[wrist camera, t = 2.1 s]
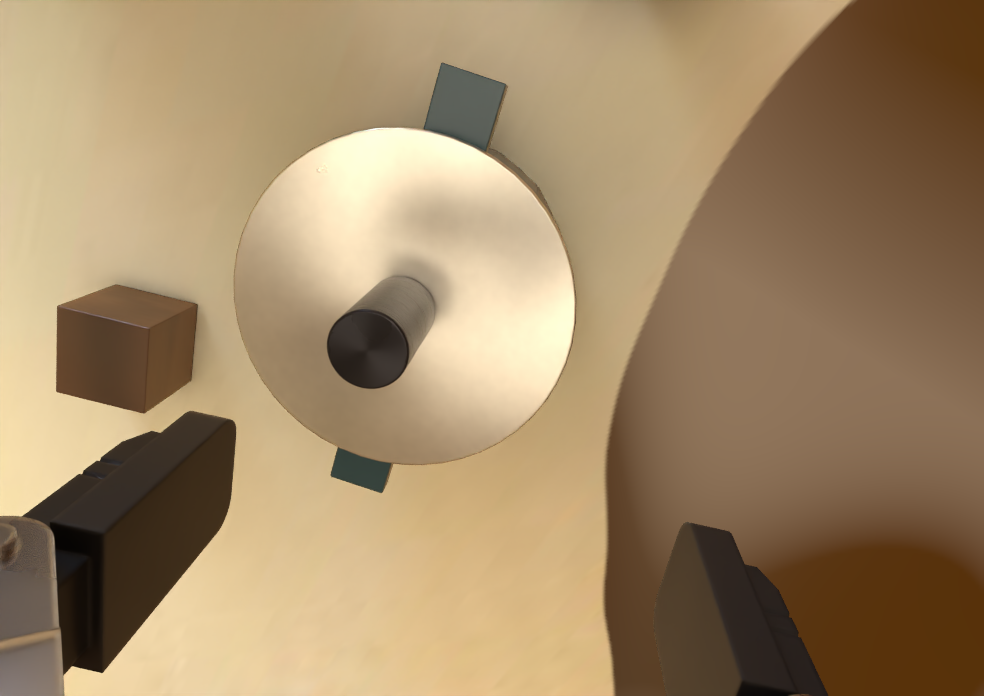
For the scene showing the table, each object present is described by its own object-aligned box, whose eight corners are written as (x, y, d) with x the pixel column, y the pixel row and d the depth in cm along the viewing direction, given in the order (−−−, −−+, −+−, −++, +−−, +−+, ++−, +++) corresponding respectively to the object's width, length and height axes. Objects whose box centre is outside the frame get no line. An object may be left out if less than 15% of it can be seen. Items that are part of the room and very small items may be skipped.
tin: (291, 377, 37) (216, 449, 29) (369, 42, 31) (303, 14, 23) (501, 447, 37) (485, 538, 29) (617, 126, 31) (638, 128, 23)
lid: (220, 394, 29) (136, 461, 23) (283, 77, 24) (199, 64, 19) (514, 491, 29) (502, 582, 23) (626, 193, 25) (646, 215, 19)
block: (112, 361, 38) (55, 392, 33) (115, 283, 36) (56, 305, 32) (191, 381, 37) (144, 414, 33) (197, 303, 36) (149, 328, 32)
